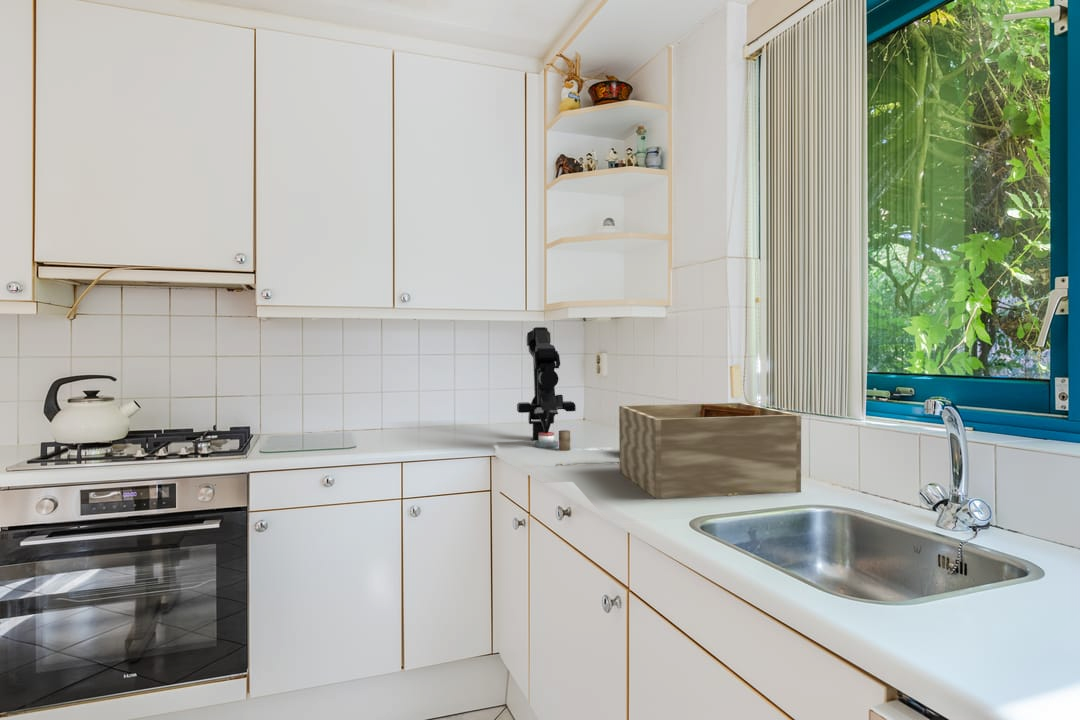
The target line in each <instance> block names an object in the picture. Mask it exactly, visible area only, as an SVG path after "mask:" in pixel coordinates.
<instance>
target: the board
mask: <svg viewBox="0 0 1080 720" xmlns="http://www.w3.org/2000/svg"><path fill="white" fill-rule="evenodd" d="M534 447H535V448H537V449H554V448H555V449H557V451H559V441H558V440H557V441H556V440H554V443H539V441H534ZM607 450H608V451H610V450H611V451H612V450H614V448H613V447H610V446H607V447H601V446H600V447H585V448H584V447H583V448H582V447H580V448H579V447H578V448H577V447H576V448H575V447H574V448H571V449H570V451H569V452H583V451H585V452H586V451H607ZM559 452H561V453H562V452H563V451H559Z"/></svg>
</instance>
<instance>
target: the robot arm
mask: <svg viewBox="0 0 1080 720" xmlns="http://www.w3.org/2000/svg"><path fill="white" fill-rule="evenodd" d="M526 335H527V336H526V347H527V346H528V353H529V354H530V355H531V357H532V360H533V362H532V364H533V365H532V366H533V388H534V389H533V390H534V396H533V397H532V400H531V402H527V401H525V402H524V401H523V402H518V403H517V404H516V411H517V412H518V414H522V413H525V414H526V413H528V424H529V425H532V437H530V440H531V442H536V441H539V435H538V433H540V432H545V433H548V432H550V431H549V430H550V427H551V424H555V416H556V415H559V412H558V411H559V410H564V411H565V412H576V410H577V408H576V403H575V402H573V401H572V400H571V401H570V400H569V401H568V400H567V401H565V400H564V396H563V394H556V389H555V387H556V386H557V384H558V383H559V376H558V373H557V372H556V371H555V369H560V366H561V359H560V354H559V352H558V350H556V348H555V346H554V345H553V344H551V342H552V341H551V339H552V338H551V332H550V331H549V330H548V327H546V326H536V327H533V328H532V330H530V331H529V332H527V334H526Z"/></svg>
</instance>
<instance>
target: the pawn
mask: <svg viewBox="0 0 1080 720" xmlns="http://www.w3.org/2000/svg"><path fill="white" fill-rule="evenodd" d="M558 449H559V451H562V452H571V451H570V450H571V430H567V429H566V430H565V429H564V430H558Z"/></svg>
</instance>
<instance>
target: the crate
mask: <svg viewBox="0 0 1080 720" xmlns="http://www.w3.org/2000/svg"><path fill="white" fill-rule="evenodd" d="M702 404H703V405H713V406H724V405H731V407H736V408H744V409H754V410H760V413H759V416H737V417H705V418H700V415H701V406H702ZM618 412H619V413H618V415H619V417H618V420H619V421H618V422H619V423H618V424H619V426H618V427H619V430H618V431H619V432H618V433H619V434H618V435H619V437H618V438H619V444H618V445H619V472H620V473H621V474H622V475H624V476H625V477H626V478H628V479H629V480H630V479H631V480H630V481H632V482H633V483H634V482H635V483H634V484H636V485H637V486H638V485H639V486H638V487H639V488H641V489H642V488H643V489H642V490H644V491H645V490H646V491H647V492H646V491H645V492H646V493H648V494H649V495H650V494H651V495H652V496H651V495H650V496H651V497H653V498H654V497H655V498H656V500H658V499H657V498H663V500H665V499H664V498H668V499H685V498H703V497H706V498H708V497H721V496H722V497H723V496H725V497H726V496H728V494H732V496H735V495H734V493H737V496H741V495H742V496H743V495H746V496H747V495H759V494H761V495H762V494H779V493H780V494H781V493H800V492H802V414H797V413H792V412H788V411H782V410H777V409H773V408H770V407H769V408H768V407H763V406H759V405H755V404H749V403H746V402H715V403H713V402H712V403H709V402H707V403H682V404H681V403H676V404H645V405H644V404H641V405H640V404H639V405H637V404H636V405H633V404H632V405H619V409H618ZM655 498H654V499H655Z"/></svg>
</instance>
